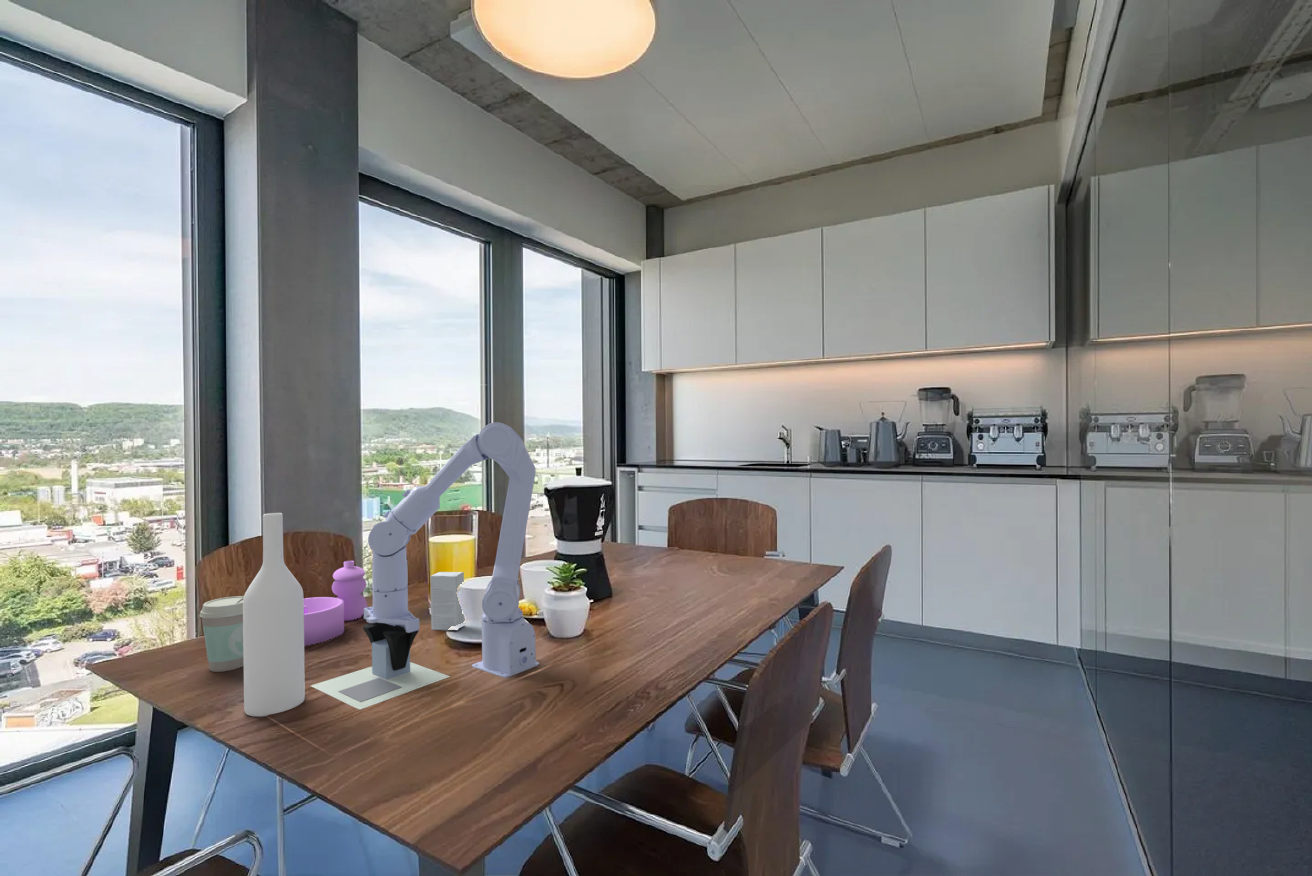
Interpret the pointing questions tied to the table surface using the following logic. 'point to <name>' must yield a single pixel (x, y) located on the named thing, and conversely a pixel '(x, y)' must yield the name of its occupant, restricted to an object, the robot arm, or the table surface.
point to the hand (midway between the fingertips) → (391, 665)
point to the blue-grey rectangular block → (385, 661)
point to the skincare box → (445, 600)
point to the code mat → (376, 685)
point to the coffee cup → (223, 633)
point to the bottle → (273, 631)
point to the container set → (335, 605)
